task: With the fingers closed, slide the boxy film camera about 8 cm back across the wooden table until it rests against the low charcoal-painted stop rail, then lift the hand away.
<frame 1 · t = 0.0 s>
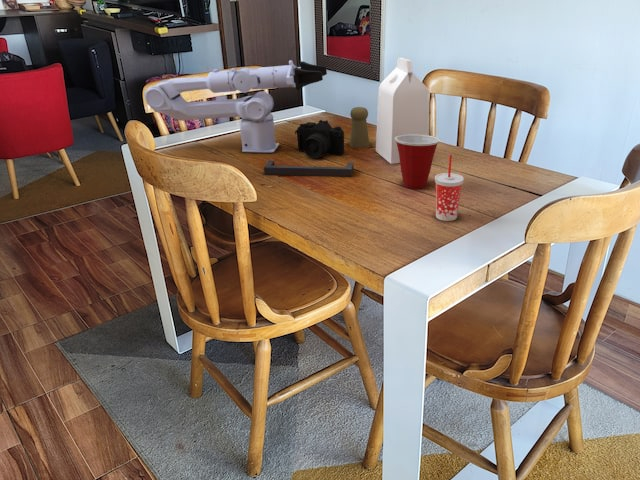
hand: (324, 73, 157), 22 cm above the table, tool horizontal, fingers open, 7 cm apart
milk: (401, 155, 163), on the table
beverage cup: (446, 217, 126), on the table
plastic cup: (415, 185, 143), on the table
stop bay: (308, 174, 150), on the table
film camera: (318, 155, 164), on the table
cork: (359, 145, 172), on the table
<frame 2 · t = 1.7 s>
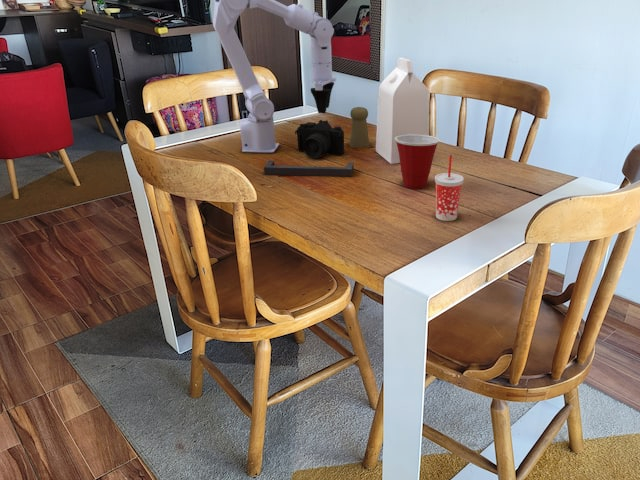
hand: (323, 110, 171), 9 cm above the table, tool pointing down, fingers open, 6 cm apart
nothing on the table moved.
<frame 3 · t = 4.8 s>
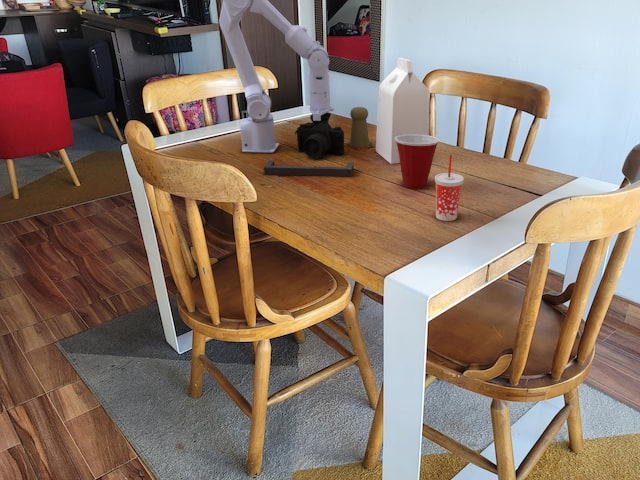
hand: (321, 138, 169), 2 cm above the table, tool pointing down, fingers closed
film camera: (318, 155, 164), on the table, touching gripper
everything else where it was.
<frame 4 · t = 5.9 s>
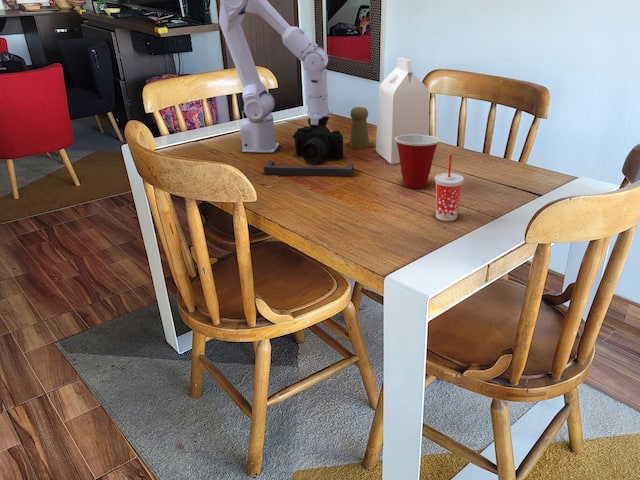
hand: (319, 143, 165), 2 cm above the table, tool pointing down, fingers closed
film camera: (316, 159, 160), on the table, touching gripper
everything else where it was.
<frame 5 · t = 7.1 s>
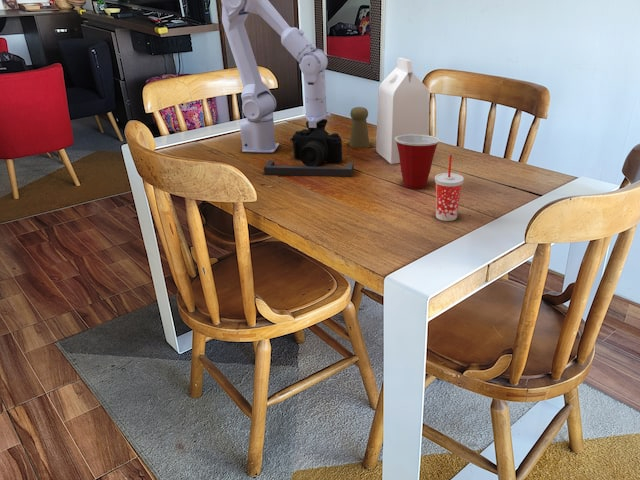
hand: (317, 146, 163), 2 cm above the table, tool pointing down, fingers closed
film camera: (315, 163, 158), on the table, touching gripper
everything else where it was.
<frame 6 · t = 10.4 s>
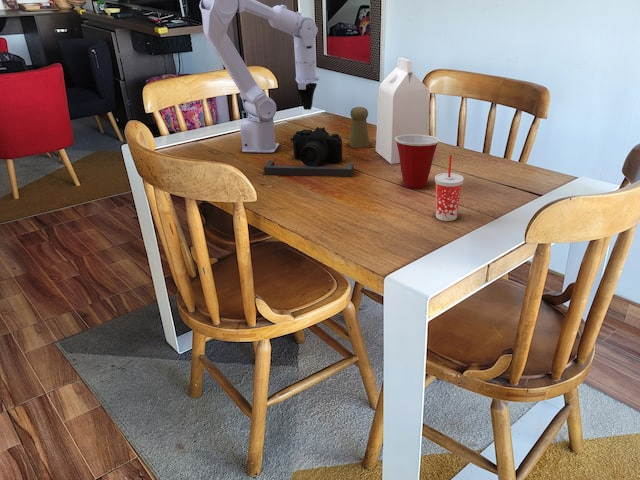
hand: (307, 109, 172), 9 cm above the table, tool pointing down, fingers closed
film camera: (315, 163, 158), on the table
everything else where it was.
at the end: film camera inside the target area (0.9 cm from its centre), on the table; film camera moved 7.4 cm from its start; film camera tilted 0° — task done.
